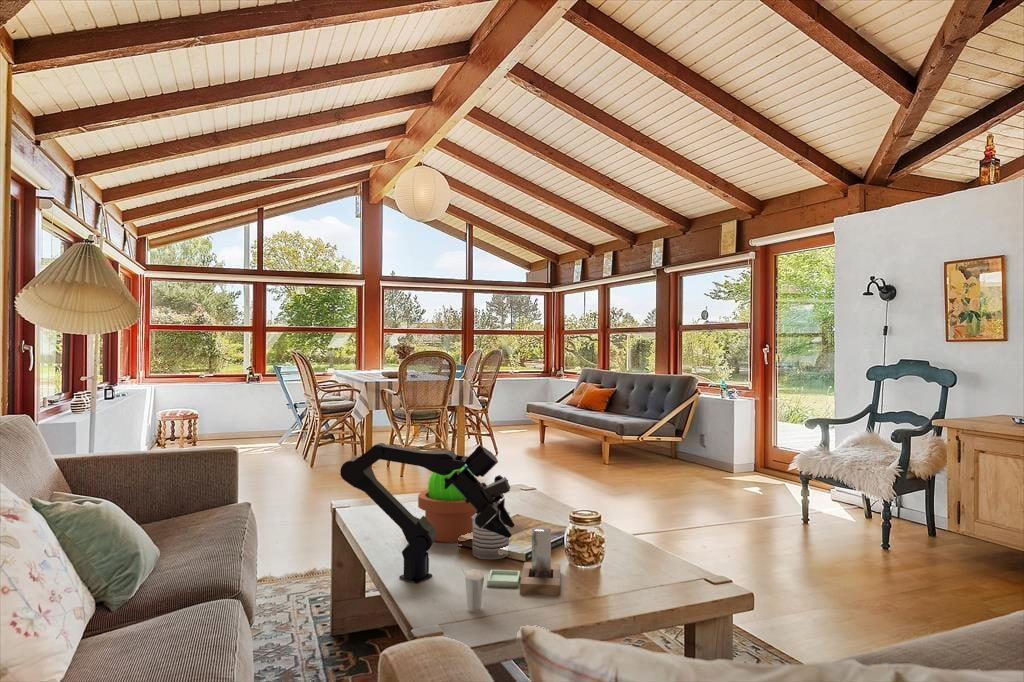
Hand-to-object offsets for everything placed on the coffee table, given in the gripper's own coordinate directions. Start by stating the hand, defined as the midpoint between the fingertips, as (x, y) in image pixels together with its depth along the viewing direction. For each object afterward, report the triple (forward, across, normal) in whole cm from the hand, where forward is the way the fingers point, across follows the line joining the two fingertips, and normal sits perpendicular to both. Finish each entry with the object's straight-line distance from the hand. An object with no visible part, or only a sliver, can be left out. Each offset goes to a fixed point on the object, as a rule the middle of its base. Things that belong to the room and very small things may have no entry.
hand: (512, 531), depth 168 cm
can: (+4, +22, +15) cm, 27 cm away
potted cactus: (-7, +39, +26) cm, 47 cm away
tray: (+8, 0, +11) cm, 13 cm away
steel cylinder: (+15, 0, +4) cm, 15 cm away
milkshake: (+4, -19, +15) cm, 24 cm away
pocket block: (+15, 0, +4) cm, 15 cm away
